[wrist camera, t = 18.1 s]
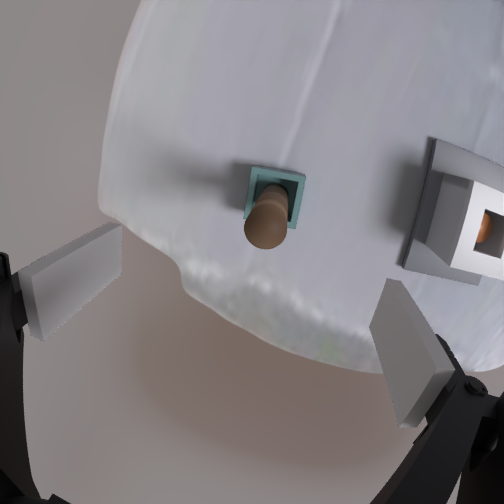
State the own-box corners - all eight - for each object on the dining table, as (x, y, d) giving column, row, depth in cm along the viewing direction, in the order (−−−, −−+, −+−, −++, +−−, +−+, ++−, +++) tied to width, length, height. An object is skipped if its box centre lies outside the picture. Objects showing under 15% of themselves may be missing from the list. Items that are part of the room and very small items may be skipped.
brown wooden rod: (264, 180, 38) (247, 204, 23) (290, 185, 38) (290, 212, 23) (260, 205, 39) (241, 244, 24) (285, 210, 39) (282, 252, 24)
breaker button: (458, 202, 34) (474, 209, 30) (478, 209, 34) (495, 217, 30) (451, 229, 35) (466, 238, 31) (471, 235, 35) (487, 245, 31)
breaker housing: (434, 138, 33) (467, 139, 25) (507, 170, 32) (544, 179, 24) (401, 266, 40) (424, 296, 31) (475, 282, 39) (503, 310, 30)
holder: (255, 165, 38) (252, 166, 35) (304, 174, 38) (306, 177, 34) (247, 212, 40) (243, 218, 37) (295, 222, 40) (295, 229, 36)
